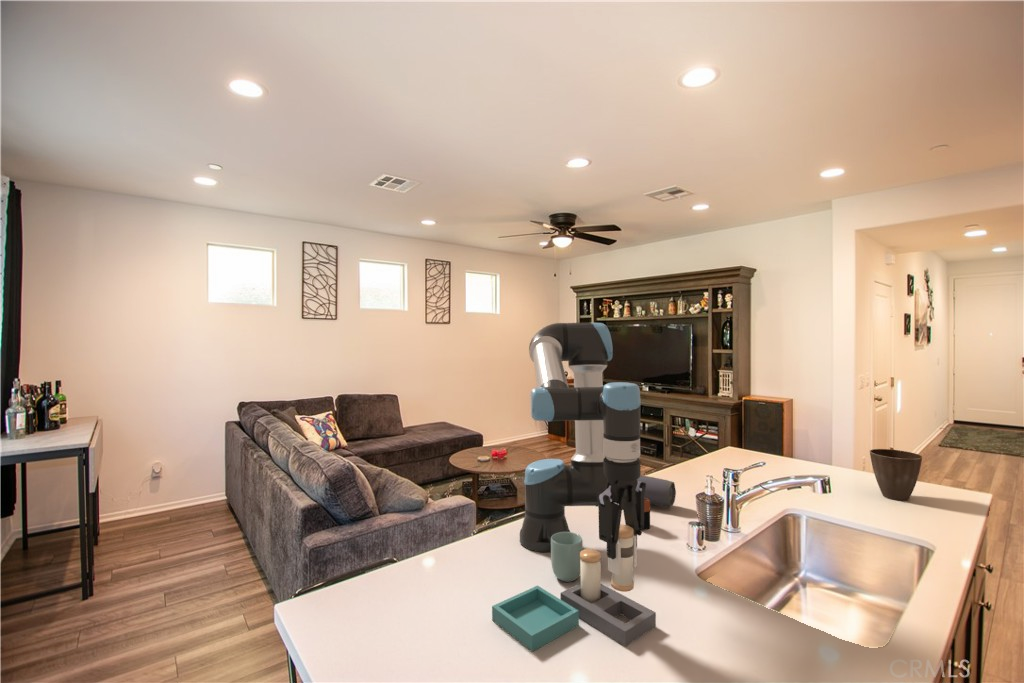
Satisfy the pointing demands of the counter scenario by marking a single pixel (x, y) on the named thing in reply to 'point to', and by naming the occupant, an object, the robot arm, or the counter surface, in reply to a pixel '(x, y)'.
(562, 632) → the parts tray
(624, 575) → the fuse
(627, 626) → the fuse holder
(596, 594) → the cylinder
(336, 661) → the counter surface
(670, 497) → the bluetooth speaker
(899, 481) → the plant pot
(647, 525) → the battery
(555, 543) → the cup
